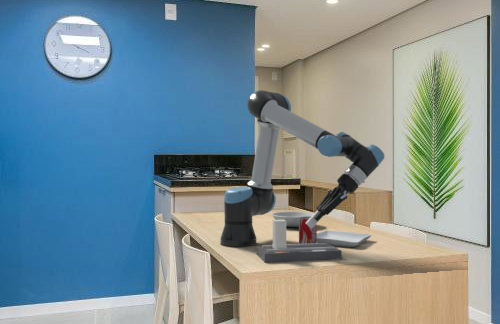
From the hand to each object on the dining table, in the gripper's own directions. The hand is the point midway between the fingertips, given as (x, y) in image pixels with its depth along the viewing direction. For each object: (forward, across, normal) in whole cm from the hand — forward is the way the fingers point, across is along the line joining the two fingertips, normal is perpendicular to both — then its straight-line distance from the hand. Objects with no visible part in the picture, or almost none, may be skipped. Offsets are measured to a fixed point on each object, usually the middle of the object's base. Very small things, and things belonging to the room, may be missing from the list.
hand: (308, 225), depth 165 cm
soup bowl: (-2, +69, -18) cm, 72 cm away
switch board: (+11, 0, -5) cm, 12 cm away
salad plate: (-7, +23, -24) cm, 34 cm away
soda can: (+4, +16, -12) cm, 20 cm away
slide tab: (+13, 0, +2) cm, 13 cm away
